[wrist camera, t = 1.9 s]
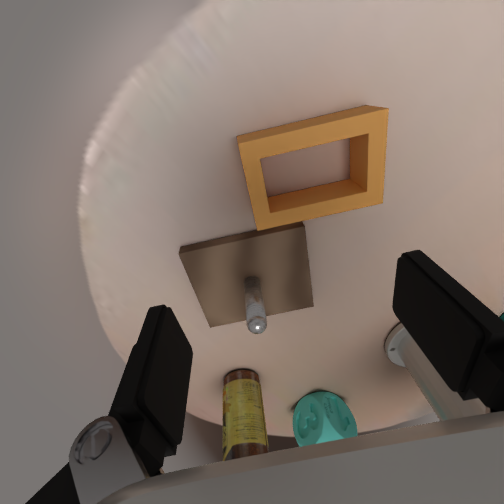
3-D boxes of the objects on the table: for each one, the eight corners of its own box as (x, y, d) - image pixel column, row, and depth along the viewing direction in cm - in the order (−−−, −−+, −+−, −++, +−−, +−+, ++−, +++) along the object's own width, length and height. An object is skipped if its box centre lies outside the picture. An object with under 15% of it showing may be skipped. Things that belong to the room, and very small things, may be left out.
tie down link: (365, 105, 24) (388, 108, 20) (364, 189, 28) (382, 203, 25) (236, 136, 24) (237, 143, 21) (254, 213, 29) (257, 230, 25)
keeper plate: (301, 220, 30) (326, 266, 22) (310, 298, 36) (332, 355, 28) (180, 246, 30) (164, 300, 23) (210, 319, 37) (205, 380, 29)
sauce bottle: (216, 374, 43) (208, 556, 26) (252, 362, 42) (267, 544, 26) (233, 394, 47) (235, 567, 30) (266, 384, 46) (287, 556, 29)
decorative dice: (347, 397, 50) (365, 446, 43) (318, 417, 53) (331, 465, 47) (316, 386, 47) (330, 436, 41) (288, 407, 51) (297, 457, 44)
